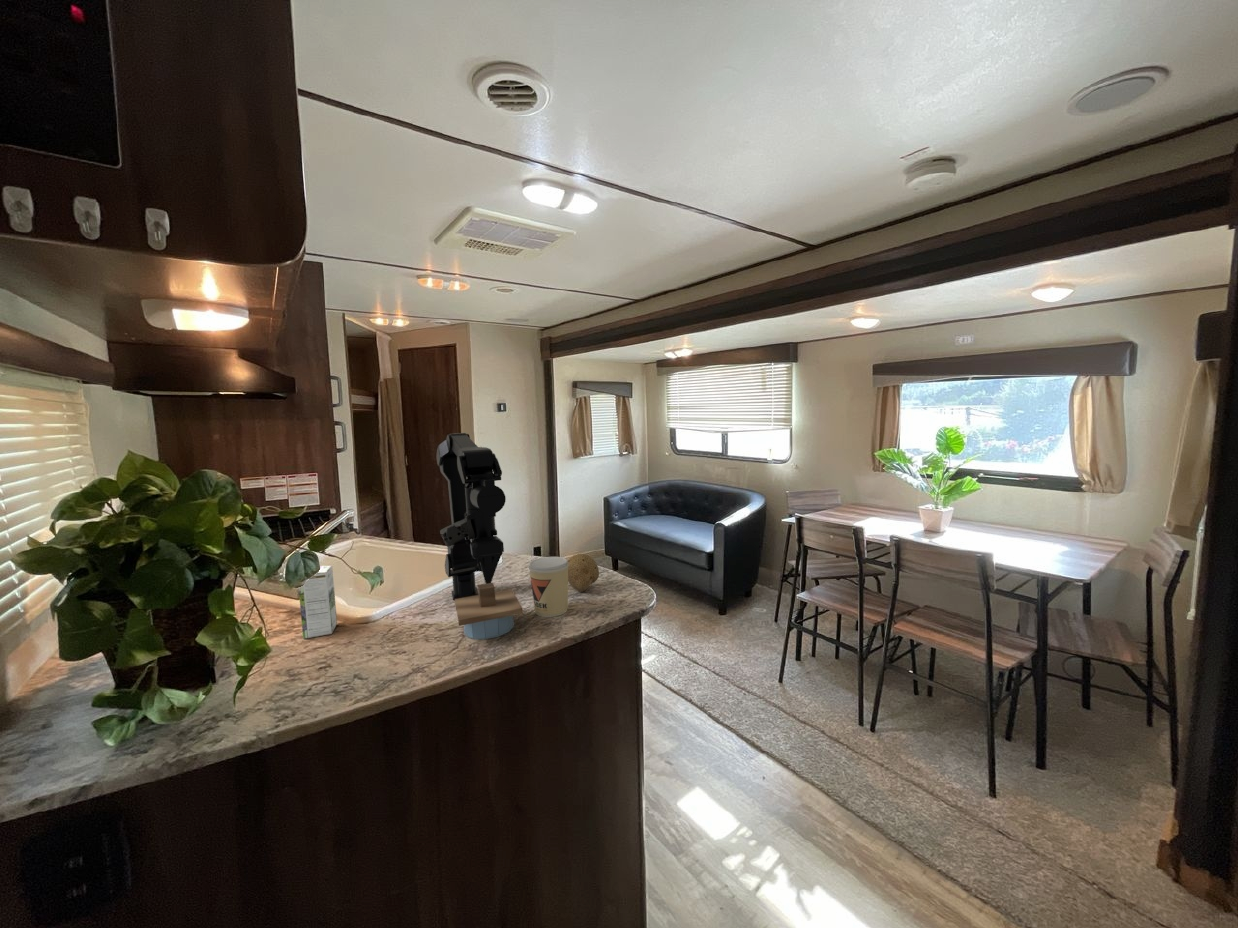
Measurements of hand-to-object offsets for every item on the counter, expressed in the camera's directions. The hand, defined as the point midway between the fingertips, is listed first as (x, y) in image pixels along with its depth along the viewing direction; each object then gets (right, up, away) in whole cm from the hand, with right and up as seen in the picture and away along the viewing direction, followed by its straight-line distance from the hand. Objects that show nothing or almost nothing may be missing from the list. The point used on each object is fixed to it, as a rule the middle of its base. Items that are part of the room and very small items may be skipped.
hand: (485, 576), depth 105 cm
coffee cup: (+13, -11, +10) cm, 19 cm away
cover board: (0, -7, +1) cm, 7 cm away
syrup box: (-38, -14, +4) cm, 41 cm away
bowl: (+1, -12, +1) cm, 12 cm away
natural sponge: (+20, -9, +22) cm, 31 cm away
